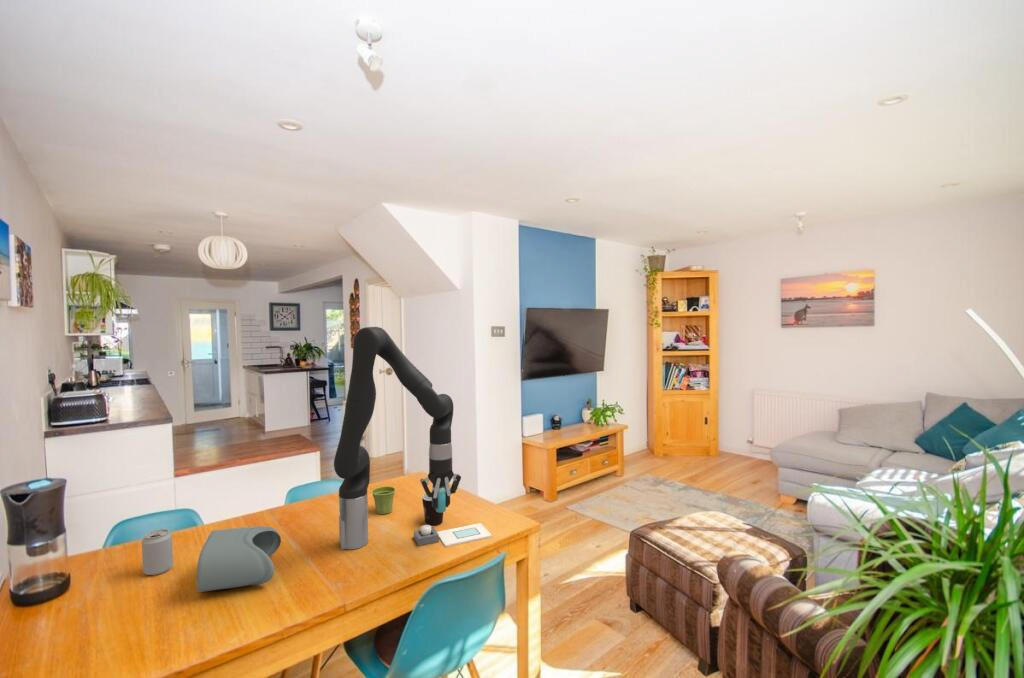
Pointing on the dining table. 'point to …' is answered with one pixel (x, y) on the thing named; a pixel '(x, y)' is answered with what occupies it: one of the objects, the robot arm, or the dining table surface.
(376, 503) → the plant pot
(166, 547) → the can
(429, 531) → the button
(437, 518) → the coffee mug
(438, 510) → the marker
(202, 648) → the dining table surface
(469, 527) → the sheet
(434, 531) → the button frame
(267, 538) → the grey scooped bin
